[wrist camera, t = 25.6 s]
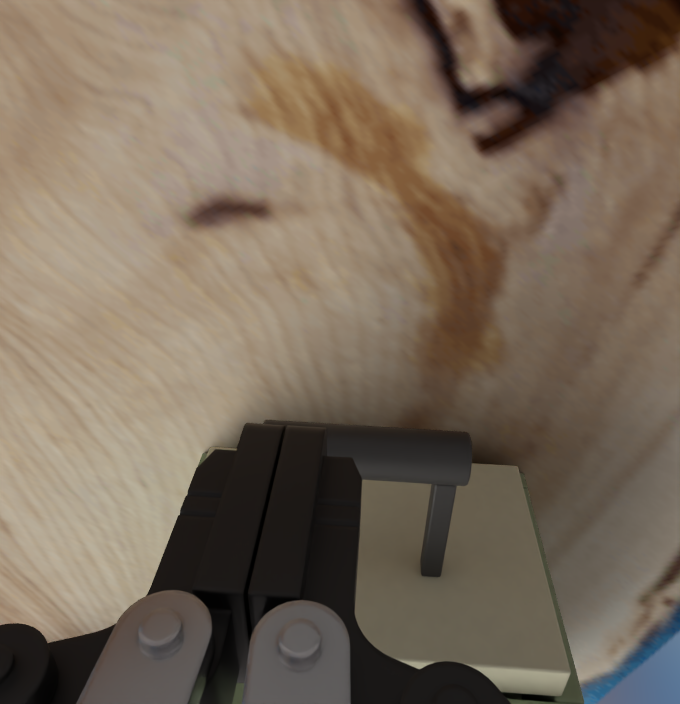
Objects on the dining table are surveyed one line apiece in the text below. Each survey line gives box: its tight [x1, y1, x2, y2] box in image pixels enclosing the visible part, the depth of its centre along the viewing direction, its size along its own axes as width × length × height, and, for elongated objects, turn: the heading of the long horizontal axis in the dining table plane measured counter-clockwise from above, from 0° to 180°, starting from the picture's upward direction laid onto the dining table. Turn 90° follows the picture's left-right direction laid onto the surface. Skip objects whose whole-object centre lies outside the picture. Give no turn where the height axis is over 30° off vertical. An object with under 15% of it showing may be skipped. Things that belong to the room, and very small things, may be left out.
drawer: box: [206, 420, 571, 700], centre depth 22 cm, size 19×11×8 cm, turn 179°
